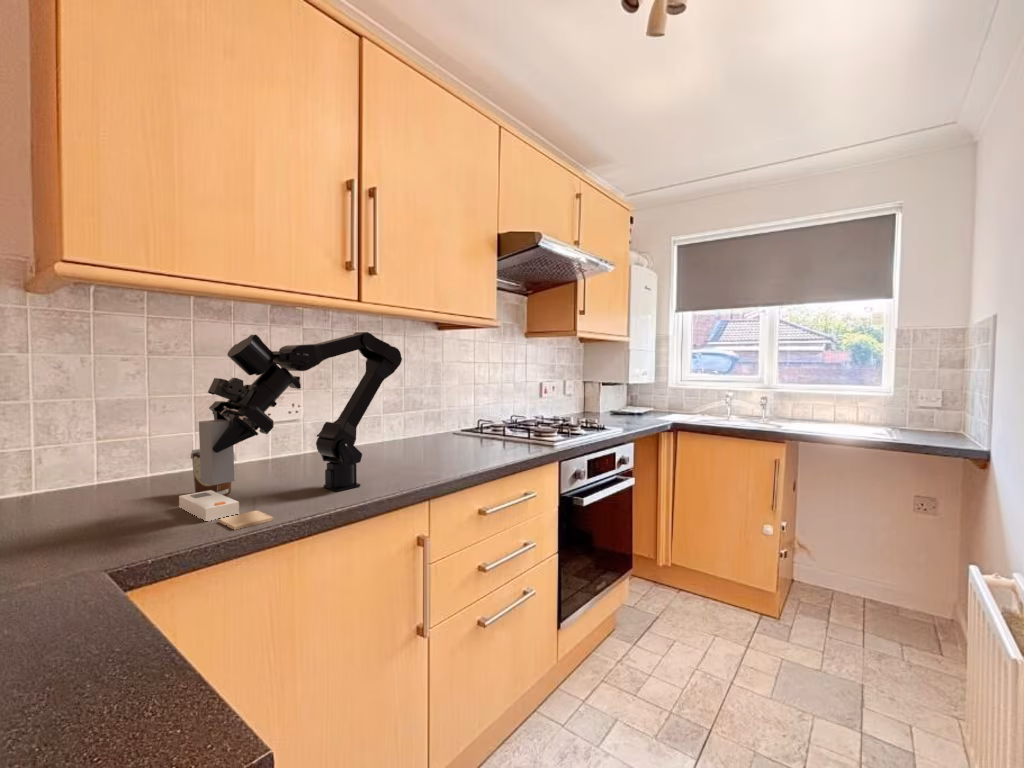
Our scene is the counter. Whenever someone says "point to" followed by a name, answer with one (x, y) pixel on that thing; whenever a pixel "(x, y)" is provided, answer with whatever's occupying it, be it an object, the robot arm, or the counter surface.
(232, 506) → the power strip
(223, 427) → the brick
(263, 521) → the cork mat
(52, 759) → the counter surface
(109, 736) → the counter surface
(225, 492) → the food container
